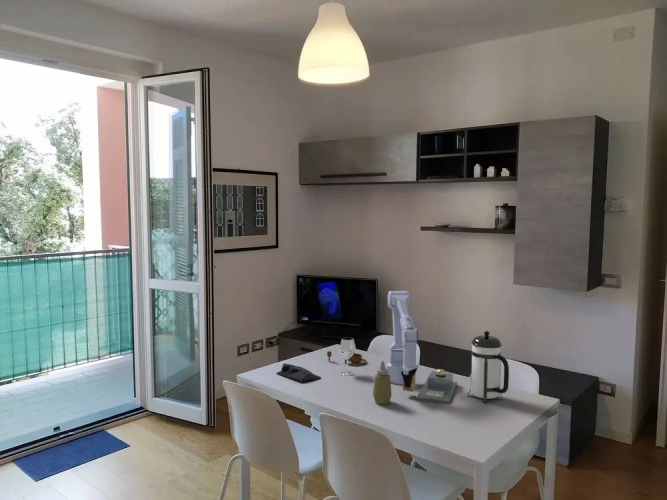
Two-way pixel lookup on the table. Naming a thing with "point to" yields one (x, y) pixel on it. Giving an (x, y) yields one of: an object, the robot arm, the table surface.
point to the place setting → (351, 359)
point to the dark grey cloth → (297, 373)
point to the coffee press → (487, 367)
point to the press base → (438, 388)
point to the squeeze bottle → (382, 386)
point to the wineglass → (347, 351)
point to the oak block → (411, 385)
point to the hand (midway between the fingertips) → (409, 385)
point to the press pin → (440, 373)
